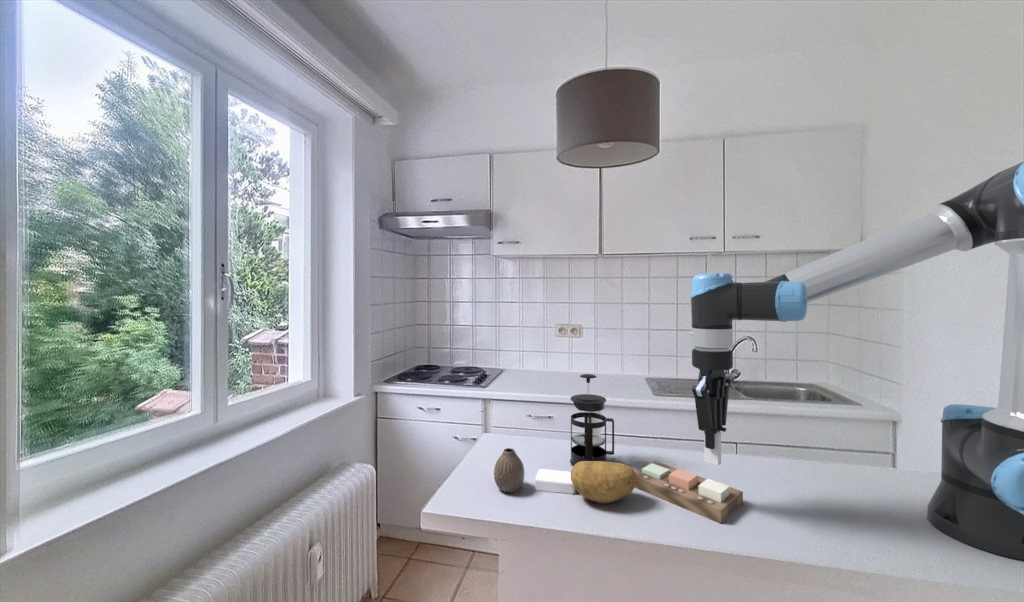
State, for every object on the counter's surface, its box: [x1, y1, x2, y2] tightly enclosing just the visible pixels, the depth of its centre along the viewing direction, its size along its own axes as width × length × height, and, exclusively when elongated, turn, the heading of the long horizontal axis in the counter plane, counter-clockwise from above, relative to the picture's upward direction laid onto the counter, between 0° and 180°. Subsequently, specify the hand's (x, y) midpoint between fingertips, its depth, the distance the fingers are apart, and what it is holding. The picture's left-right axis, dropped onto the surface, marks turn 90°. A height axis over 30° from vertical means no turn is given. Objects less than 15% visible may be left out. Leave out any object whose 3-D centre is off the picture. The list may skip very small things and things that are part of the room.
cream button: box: [699, 478, 731, 503], centre depth 82 cm, size 4×4×3 cm
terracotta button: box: [669, 468, 699, 490], centre depth 87 cm, size 4×4×3 cm
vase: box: [493, 447, 525, 493], centre depth 90 cm, size 7×7×9 cm
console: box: [634, 460, 744, 524], centre depth 87 cm, size 20×11×3 cm, turn 41°
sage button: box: [641, 463, 670, 479], centre depth 92 cm, size 4×4×3 cm
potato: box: [570, 461, 638, 505], centre depth 85 cm, size 10×14×8 cm
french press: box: [569, 373, 615, 467], centre depth 102 cm, size 12×9×23 cm
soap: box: [534, 468, 577, 495], centre depth 90 cm, size 9×6×3 cm, turn 77°
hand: (712, 462), depth 82 cm, fingers closed
